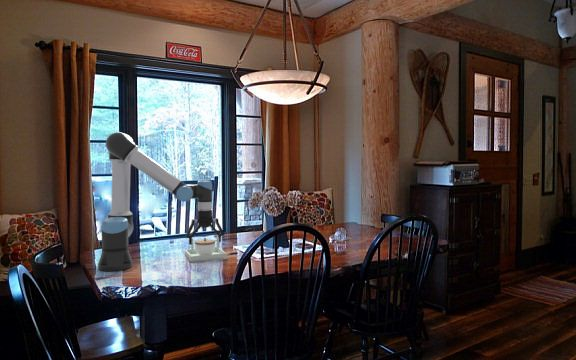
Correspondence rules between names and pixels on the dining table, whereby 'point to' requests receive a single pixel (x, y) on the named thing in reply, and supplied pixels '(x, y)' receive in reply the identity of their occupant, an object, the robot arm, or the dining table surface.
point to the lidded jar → (205, 246)
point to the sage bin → (216, 255)
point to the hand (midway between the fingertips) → (205, 249)
